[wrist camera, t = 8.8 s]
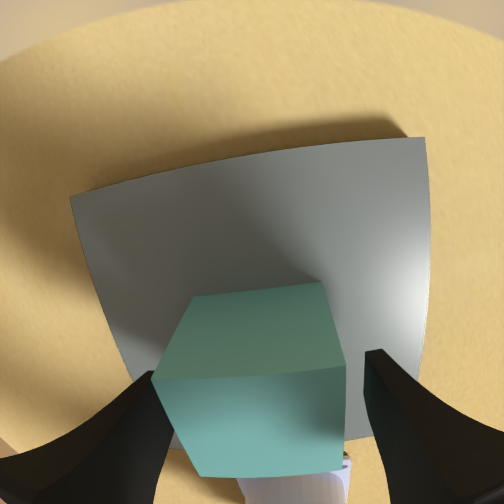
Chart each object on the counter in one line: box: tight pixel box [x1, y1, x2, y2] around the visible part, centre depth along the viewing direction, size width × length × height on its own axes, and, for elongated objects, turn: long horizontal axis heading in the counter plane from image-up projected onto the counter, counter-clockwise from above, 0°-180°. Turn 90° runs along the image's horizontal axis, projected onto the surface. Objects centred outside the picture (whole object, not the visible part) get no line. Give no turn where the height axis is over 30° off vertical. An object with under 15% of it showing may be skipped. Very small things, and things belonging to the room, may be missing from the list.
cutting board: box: [69, 137, 431, 450], centre depth 14 cm, size 15×14×2 cm
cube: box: [151, 282, 346, 478], centre depth 10 cm, size 5×5×5 cm
